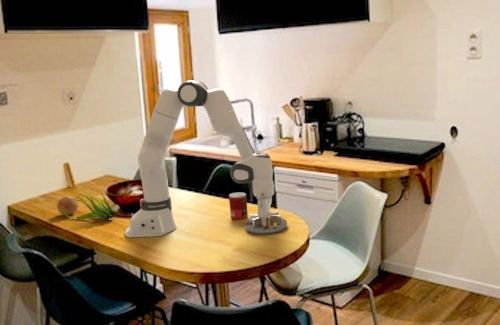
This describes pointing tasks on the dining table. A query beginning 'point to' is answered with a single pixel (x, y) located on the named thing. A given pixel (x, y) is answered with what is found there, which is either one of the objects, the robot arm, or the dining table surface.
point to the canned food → (238, 205)
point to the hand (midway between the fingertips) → (265, 221)
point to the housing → (266, 228)
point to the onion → (67, 205)
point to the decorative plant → (96, 209)
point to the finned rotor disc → (270, 219)
